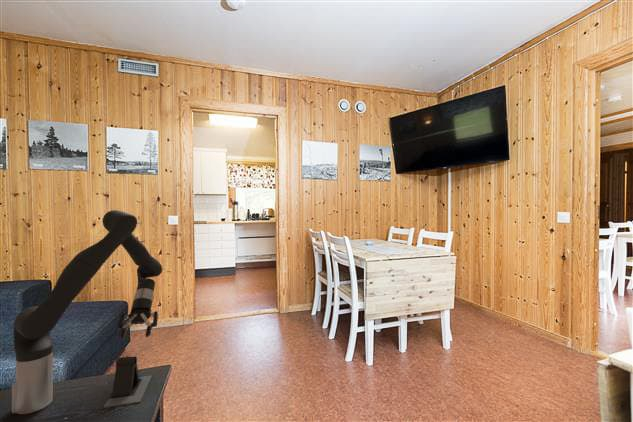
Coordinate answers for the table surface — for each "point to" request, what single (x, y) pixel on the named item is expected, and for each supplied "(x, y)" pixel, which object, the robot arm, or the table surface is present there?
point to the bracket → (130, 399)
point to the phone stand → (125, 377)
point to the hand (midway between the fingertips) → (135, 337)
